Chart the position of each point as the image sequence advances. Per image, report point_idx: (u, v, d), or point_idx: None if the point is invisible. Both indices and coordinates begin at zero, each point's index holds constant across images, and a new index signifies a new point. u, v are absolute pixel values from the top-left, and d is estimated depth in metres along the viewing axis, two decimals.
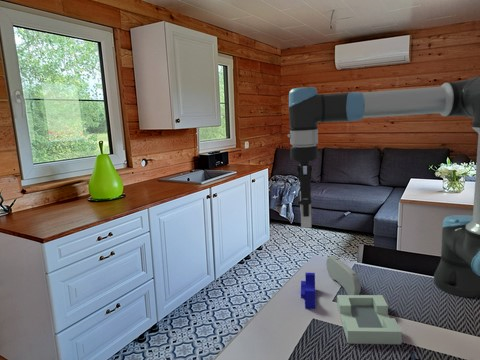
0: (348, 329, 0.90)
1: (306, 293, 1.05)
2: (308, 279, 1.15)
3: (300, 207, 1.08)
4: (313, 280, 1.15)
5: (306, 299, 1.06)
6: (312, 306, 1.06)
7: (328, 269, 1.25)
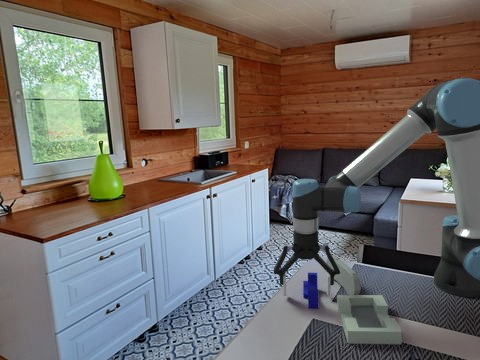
0: (348, 329, 0.90)
1: (309, 293, 1.05)
2: (310, 279, 1.15)
3: None
4: (315, 280, 1.15)
5: (309, 299, 1.06)
6: (315, 306, 1.06)
7: None
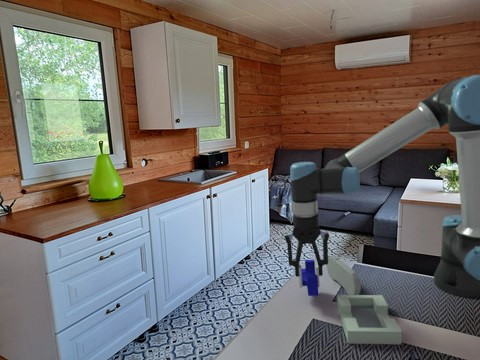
0: (348, 329, 0.90)
1: (309, 279, 1.04)
2: (308, 266, 1.14)
3: None
4: (313, 267, 1.14)
5: (309, 285, 1.05)
6: (315, 292, 1.05)
7: (328, 269, 1.25)
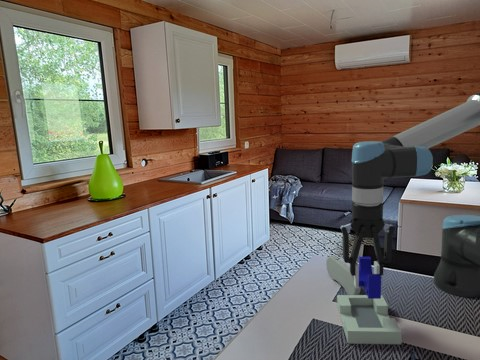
0: (348, 329, 0.90)
1: (370, 279, 0.89)
2: (363, 264, 0.99)
3: None
4: (369, 265, 0.98)
5: (370, 286, 0.89)
6: (377, 294, 0.89)
7: (328, 269, 1.25)
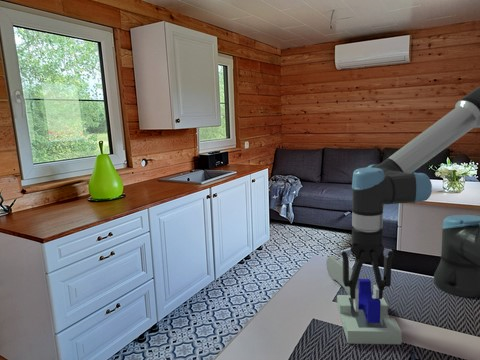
0: (348, 329, 0.90)
1: (370, 304, 0.90)
2: (363, 286, 1.00)
3: None
4: (369, 287, 1.00)
5: (370, 311, 0.90)
6: (376, 319, 0.91)
7: (328, 269, 1.25)
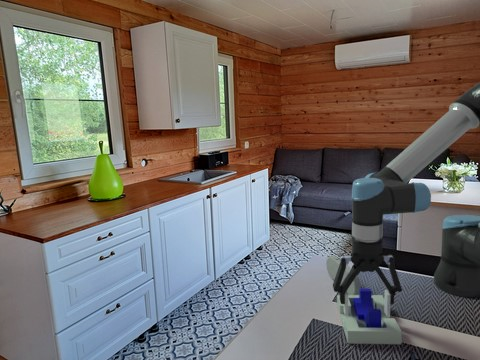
0: (348, 329, 0.90)
1: (371, 314, 0.91)
2: (364, 296, 1.01)
3: (384, 306, 0.97)
4: (369, 297, 1.00)
5: (371, 321, 0.91)
6: None
7: (328, 269, 1.25)
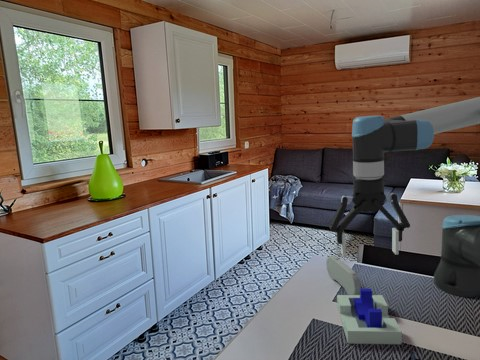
0: (348, 329, 0.90)
1: (371, 315, 0.91)
2: (364, 296, 1.01)
3: (392, 244, 0.96)
4: (370, 297, 1.00)
5: (371, 321, 0.91)
6: None
7: (328, 269, 1.25)
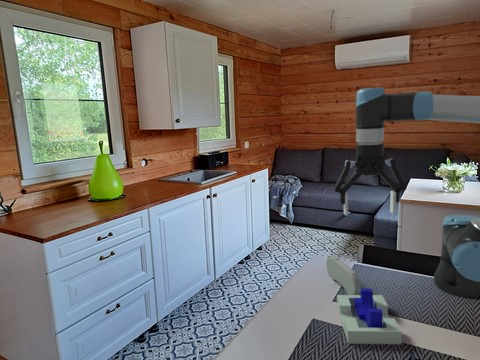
0: (348, 329, 0.90)
1: (372, 315, 0.91)
2: (365, 296, 1.01)
3: (390, 206, 1.07)
4: (371, 297, 1.00)
5: (372, 321, 0.91)
6: None
7: (328, 269, 1.25)
